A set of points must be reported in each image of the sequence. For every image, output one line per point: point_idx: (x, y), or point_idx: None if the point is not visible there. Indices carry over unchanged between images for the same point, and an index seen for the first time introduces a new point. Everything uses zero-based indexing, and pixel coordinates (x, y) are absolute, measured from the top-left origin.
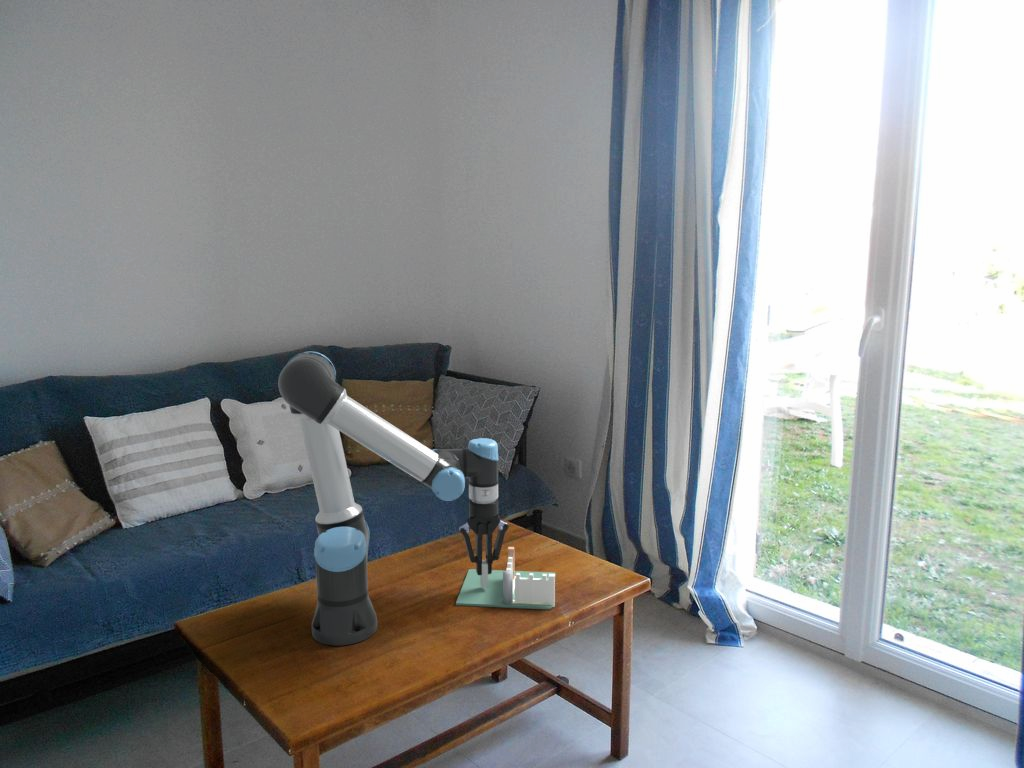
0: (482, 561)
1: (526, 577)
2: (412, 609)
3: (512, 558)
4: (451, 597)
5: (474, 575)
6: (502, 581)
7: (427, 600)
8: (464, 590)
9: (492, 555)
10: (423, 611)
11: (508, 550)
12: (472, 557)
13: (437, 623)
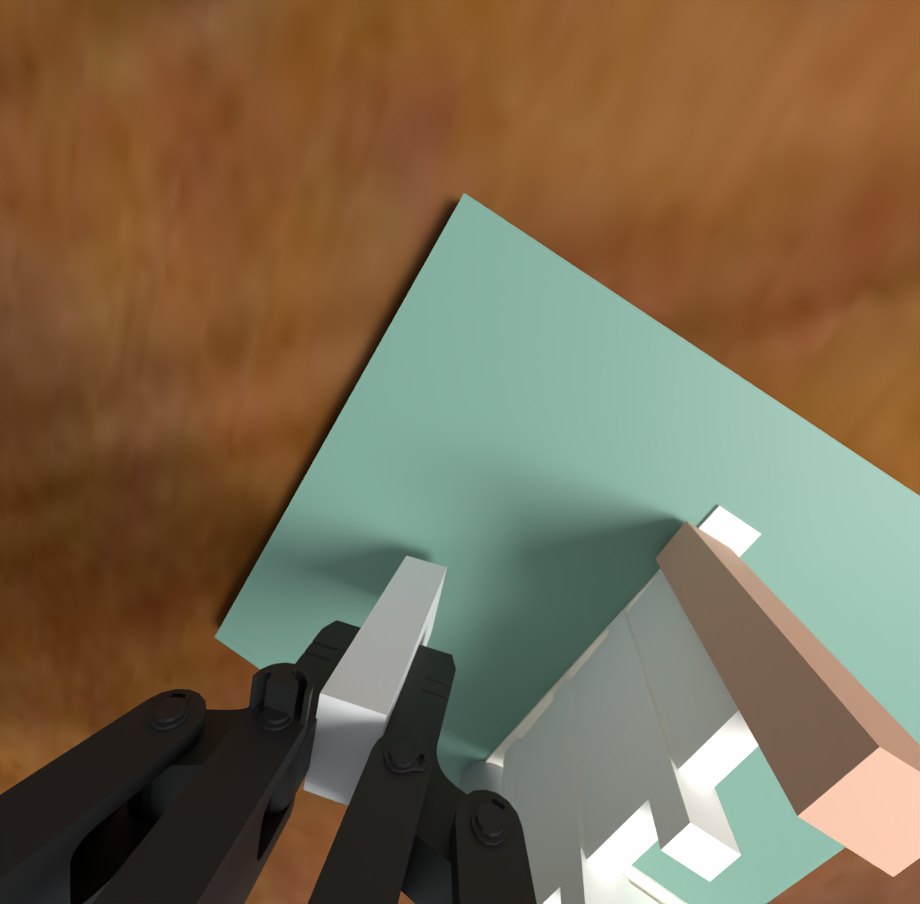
0: (336, 727)
1: (819, 583)
2: (24, 538)
3: (724, 852)
4: (231, 524)
5: (455, 340)
6: (602, 545)
7: (104, 487)
8: (304, 528)
9: (425, 878)
10: (70, 586)
11: (790, 797)
12: (120, 849)
13: (113, 716)
